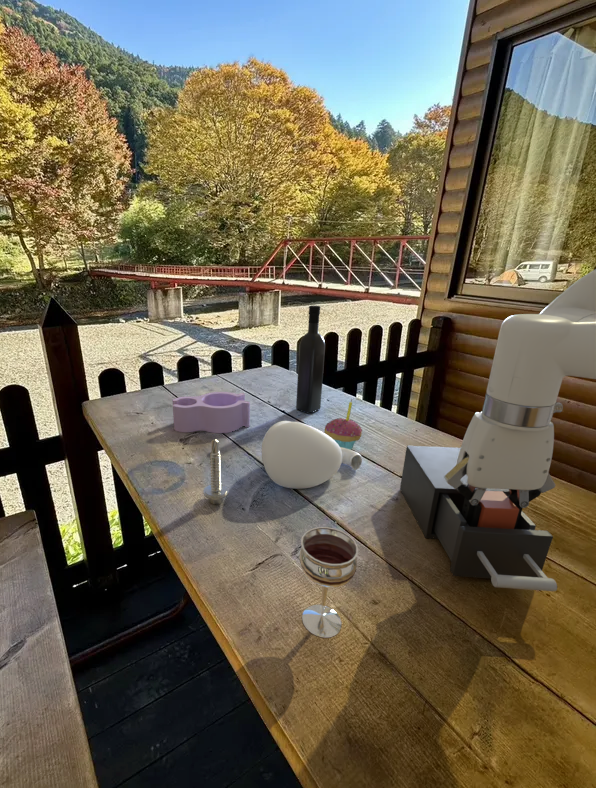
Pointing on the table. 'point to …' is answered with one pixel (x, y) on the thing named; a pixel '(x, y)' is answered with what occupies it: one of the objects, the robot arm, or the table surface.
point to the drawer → (493, 548)
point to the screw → (215, 477)
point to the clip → (211, 412)
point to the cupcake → (344, 430)
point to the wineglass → (326, 573)
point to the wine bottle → (310, 365)
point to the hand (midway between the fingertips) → (488, 523)
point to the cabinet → (429, 482)
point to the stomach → (303, 455)
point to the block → (497, 511)
